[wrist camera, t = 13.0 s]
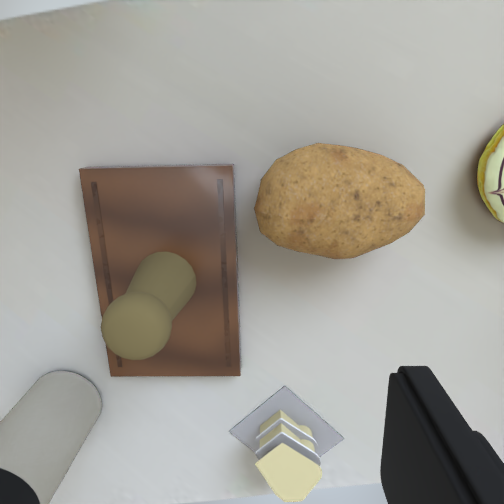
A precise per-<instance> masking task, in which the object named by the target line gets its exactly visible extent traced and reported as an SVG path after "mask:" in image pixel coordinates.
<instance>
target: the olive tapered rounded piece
mask: <svg viewBox="0 0 504 504" xmlns="http://www.w3.org/2000/svg"><path fill="white" fill-rule="evenodd" d="M195 288H196V275H195V273H194V270H193V268H192V266H191V265H190V264H189V263H188V262H187V261H186V260H185V259H184V258H182V257H181V256H179V255H177V254H174V253H171V252H156V253H153V254H151V255H148V256H147V257H146V258H145V259H143V260H142V261H141V263H140V265H139V266H138V268H137V270H136V272H135V274H134V276H133V278H132V281H131V283H130V285H129V287H128V289H127V291H126V293H125V294H124V295H122V296H119V297H118V298H117V299H115V300H114V301H113V302H112V303H111V304H110V305H109V306H108V307H107V309H106V311H105V313H104V314H103V318H102V323H101V331H102V337H103V339H104V341H105V343H106V344H107V346H108V348H109V349H111V350H112V351H113V352H114V353H115V354H117V355H118V356H120V357H122V358H125V359H130V360H142V359H146V358H149V357H152V356H154V355H155V354H156V353H158V352H159V351H160V350H161V349H163V347H164V346H165V344H166V343H167V341H168V340H169V337H170V334H171V329H172V320H173V319H174V318H175V317H176V316H177V314H178V313H179V312H180V311H181V310H182V308H183V307H184V306H185V305H186V304H187V302H188V301H189V300H190V298H191V297H192V295H193V294H194V292H195Z"/></svg>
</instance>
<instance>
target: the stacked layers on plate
mask: <svg viewBox="0 0 504 504" xmlns="http://www.w3.org/2000/svg"><path fill="white" fill-rule="evenodd" d="M229 432H230V433H232V434H233V435H234V436H235V437H236V438H238V439H239V440H240V441H241V442H243V443H244V444H245V445H246V446H247V447H249V448H250V449H251V450H252V451H254V452H255V454H256V456H257V457H258V459H259V461H258V462H256V463H255V465H256V466H257V468H258V469H259V471H260V472H261V474H262V475H263V477H264V478H265V480H266V481H267V483H268V484H269V486H270V487H271V489H272V490H273V492H274V493H275V495H277V496H278V497H279V498H280V499H282V500H283V501H284V502H298V501H302V500H304V499H305V497H306V496H307V495H308V494H309V492H310V491H311V490H312V489H313V488H314V486H315V485H316V484H317V483H318V481H319V480H320V479H321V477H322V470H321V468H320V458H319V457H320V456H322V455H323V454H324V453H326V452H327V451H329V450H330V449H331V448H333V447H334V446H335V445H337V444H338V443H339V442H341V441H342V440H343V439H344V438H343V437H342V436H341V435H340V434H338V433H337V432H336V431H335V430H334V429H333V428H332V427H331V426H329V425H328V424H327V423H326V422H325V421H324V420H323V419H322V418H320V417H319V416H318V415H317V414H316V413H315V412H314V411H312V410H311V409H310V408H309V407H308V406H307V405H306V404H305V403H303V402H302V401H301V400H300V399H299V398H298V397H297V396H296V395H294V394H293V393H292V392H291V391H290V390H289V389H288V388H286V387H285V386H284V387H283V388H282V389H281V390H279V391H278V392H277V393H276V394H274V395H273V396H272V397H271V398H269V399H268V400H267V401H266V402H265V403H263V404H262V405H261V406H260V407H258V408H257V409H256V410H255V411H254V412H252V413H251V414H250V415H249V416H247V417H246V418H245V419H244V420H243V421H241V422H240V423H239V424H238V425H236V426H235V427H234V428H233V429H231V430H230V431H229Z"/></svg>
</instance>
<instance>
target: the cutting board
mask: <svg viewBox="0 0 504 504" xmlns="http://www.w3.org/2000/svg"><path fill="white" fill-rule="evenodd" d="M79 172H80V178H81V185H82V192H83V198H84V205H85V211H86V218H87V224H88V231H89V237H90V244H91V250H92V257H93V263H94V270H95V276H96V283H97V290H98V296H99V303H100V309H101V316H102V318H103V314H104V313H105V311H106V309H107V307H108V306H109V305H110V304H111V303H112V302H113V301H114V300H115V299H117V298H118V297H119V296H122V295H124V294H125V293H126V291H127V289H128V287H129V285H130V283H131V281H132V278H133V276H134V274H135V272H136V270H137V268H138V266H139V265H140V263H141V261H142V260H143V259H145V258H146V257H147V256H148V255H151V254H153V253H156V252H171V253H174V254H177V255H179V256H181V257H182V258H184V259H185V260H186V261H187V262H188V263H189V264H190V265H191V266H192V268H193V270H194V273H195V275H196V288H195V292H194V294H193V295H192V297H191V298H190V300H189V301H188V302H187V304H186V305H185V306H184V307H183V308H182V310H181V311H180V312H179V313H178V314H177V316H176V317H175V318H174V319H173V320H172V329H171V334H170V337H169V340H168V341H167V343H166V344H165V346H164V347H163V349H161V350H160V351H159V352H158V353H156V354H155V355H154V356H152V357H149V358H146V359H142V360H130V359H125V358H122V357H120V356H118V355H117V354H115V353H114V352H113V351H112V350H111V349H109V348H108V346H107V344H106V348H107V355H108V361H109V368H110V374H111V376H241V348H240V321H239V294H238V266H237V239H236V212H235V185H234V164H211V165H165V166H119V167H85V168H81V169H79Z"/></svg>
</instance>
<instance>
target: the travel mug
mask: <svg viewBox="0 0 504 504" xmlns="http://www.w3.org/2000/svg"><path fill="white" fill-rule="evenodd" d="M101 407H102V403H101V398H100V395H99V393H98V391H97V389H96V388H95V387H94V386H93V384H92V383H91V382H89V381H88V380H87V379H85V378H84V377H82V376H80V375H78V374H75V373H72V372H68V371H55V372H50V373H47V374H45V375H44V376H42V377H41V378H39V379H38V380H37V382H36V383H35V384H34V385H33V386H32V387H31V388H30V389H29V391H28V392H27V393H26V394H25V395H24V396H23V397H22V398H21V400H20V401H19V402H18V403H17V404H16V405H15V406H14V407H13V408H12V410H11V411H10V412H9V413H8V414H7V415H6V416H5V417H4V419H3V420H2V421H1V422H0V504H49V502H50V501H51V499H52V497H53V495H54V494H55V492H56V490H57V488H58V487H59V485H60V483H61V481H62V480H63V478H64V476H65V474H66V473H67V471H68V469H69V467H70V466H71V464H72V462H73V460H74V459H75V457H76V455H77V453H78V452H79V450H80V448H81V446H82V445H83V443H84V441H85V439H86V438H87V436H88V434H89V432H90V431H91V429H92V427H93V425H94V424H95V422H96V420H97V418H98V417H99V415H100V412H101Z"/></svg>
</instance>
